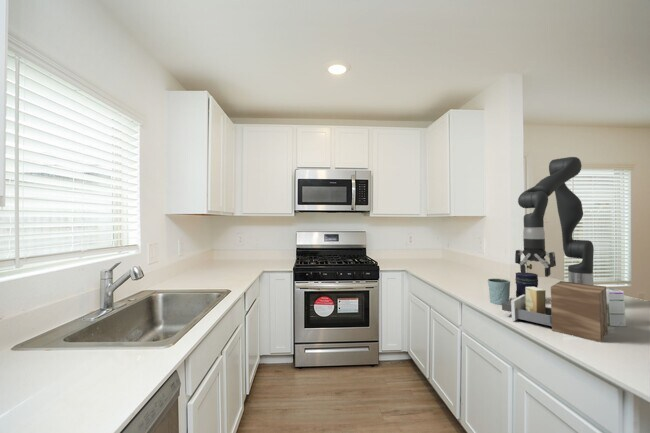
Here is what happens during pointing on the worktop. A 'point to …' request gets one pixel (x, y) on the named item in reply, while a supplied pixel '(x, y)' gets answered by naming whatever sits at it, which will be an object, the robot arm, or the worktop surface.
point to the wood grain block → (579, 310)
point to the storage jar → (525, 282)
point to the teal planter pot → (499, 290)
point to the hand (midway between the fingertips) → (535, 275)
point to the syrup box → (615, 307)
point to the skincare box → (535, 300)
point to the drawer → (519, 311)
